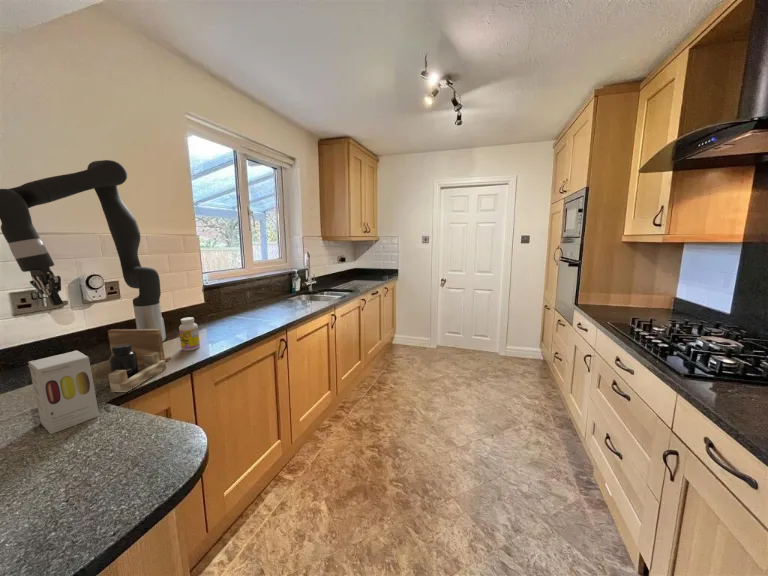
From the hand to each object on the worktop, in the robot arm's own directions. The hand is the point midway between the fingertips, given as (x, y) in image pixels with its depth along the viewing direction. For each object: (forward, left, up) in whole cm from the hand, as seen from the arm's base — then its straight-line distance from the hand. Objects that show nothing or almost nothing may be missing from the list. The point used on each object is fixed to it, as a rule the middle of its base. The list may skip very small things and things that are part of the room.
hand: (58, 304), depth 105 cm
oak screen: (-8, +18, -24) cm, 32 cm away
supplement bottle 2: (-22, +28, -24) cm, 43 cm away
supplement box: (+28, +27, -24) cm, 46 cm away
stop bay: (+6, +29, -24) cm, 38 cm away
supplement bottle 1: (+6, +24, -24) cm, 35 cm away
